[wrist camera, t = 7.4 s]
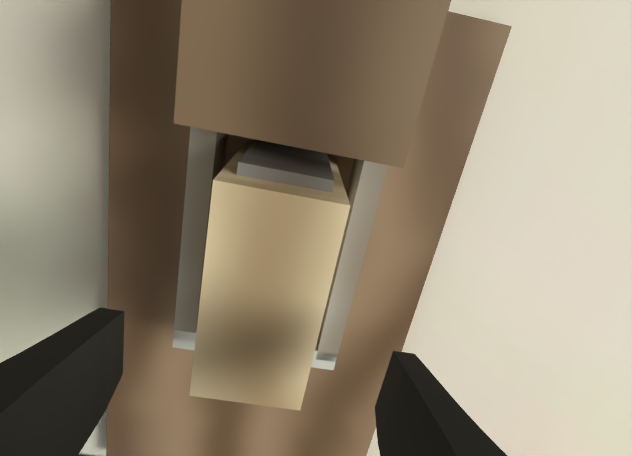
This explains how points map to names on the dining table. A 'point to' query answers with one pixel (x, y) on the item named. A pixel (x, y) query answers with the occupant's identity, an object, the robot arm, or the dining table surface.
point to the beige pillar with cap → (267, 273)
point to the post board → (160, 236)
